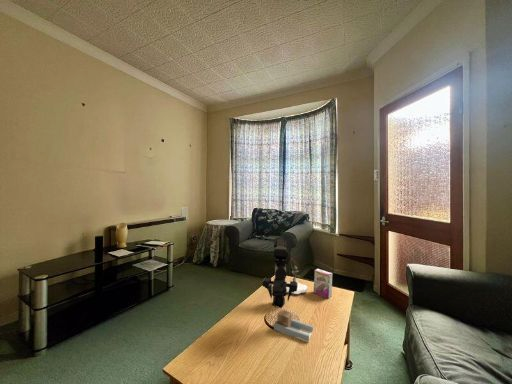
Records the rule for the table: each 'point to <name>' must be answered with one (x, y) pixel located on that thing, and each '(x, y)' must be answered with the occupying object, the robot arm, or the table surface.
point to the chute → (296, 330)
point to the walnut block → (284, 318)
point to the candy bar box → (323, 283)
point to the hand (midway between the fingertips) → (279, 299)
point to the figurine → (301, 287)
